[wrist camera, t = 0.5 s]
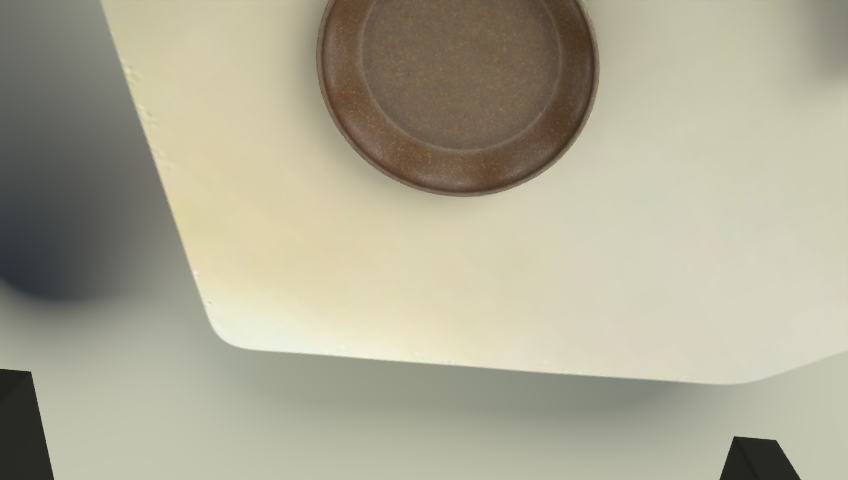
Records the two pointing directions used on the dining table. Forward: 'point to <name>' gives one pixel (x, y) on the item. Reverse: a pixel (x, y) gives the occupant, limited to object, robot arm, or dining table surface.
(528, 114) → the saucer
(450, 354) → the dining table surface
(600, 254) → the dining table surface
